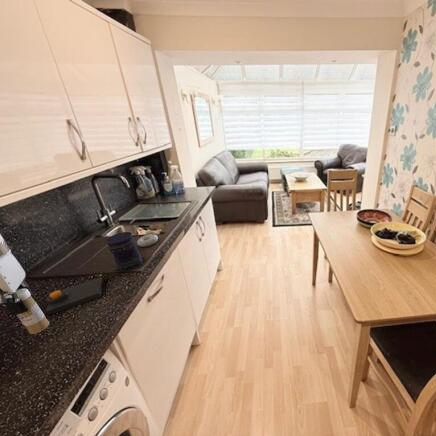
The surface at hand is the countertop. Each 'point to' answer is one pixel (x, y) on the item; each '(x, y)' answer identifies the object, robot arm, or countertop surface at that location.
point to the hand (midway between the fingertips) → (24, 306)
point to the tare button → (55, 294)
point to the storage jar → (124, 251)
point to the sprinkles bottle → (31, 313)
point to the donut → (147, 240)
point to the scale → (75, 295)
